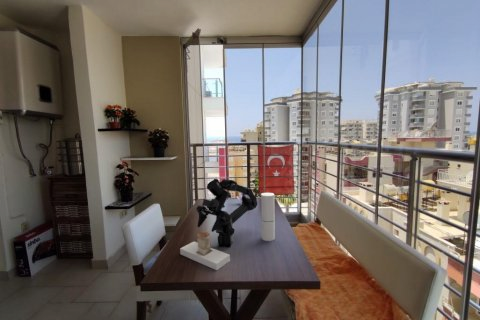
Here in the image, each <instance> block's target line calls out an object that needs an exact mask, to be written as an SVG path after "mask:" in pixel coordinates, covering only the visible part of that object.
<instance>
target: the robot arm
mask: <svg viewBox="0 0 480 320" xmlns="http://www.w3.org/2000/svg"><path fill="white" fill-rule="evenodd" d="M206 189H207V190H208V192H210V193H211V195H213V196H214V198H211V200H210V199H205V198H203V200H202V204H200V205H197V207H196V211H197V213H198V220H197V228H200V227H201V226H202V225H203V223H204V222H205V221H206V220H207V218H208V215H211V216H215V222H214V223H213V225H212V228H211V229H210V230H211V231H210V232H212V233H214V232H216V234H218V236H217V244H218V246H217V248H231V246H232V245H233V242H234V241H233V239H232V236H233V235H234V234H235V229H234V227H233V224H235V223H236V222H237V221H238V220H239V219H240V218H241V217H242V216H243V215H245V214H246V213H247V212H249V211H253V210H255V209H256V208H257V206H258V200H257V196H256V195H255V194H254V192H253V190H252V188H250V187H245V186H243V185H241V184H238V182H237V181H235V180H234V179H227V178H223V179H222V180H221V181H219V179H218V178H213V180H211V181H210V182H207V185H206ZM230 192H237V193H239V194H240V193H242V201H241V203H242V204H240V205H239V206H238V207H237V208H235V209H234V210H233V211H232V212H231V213H230V214H229V213H228V212H227V211H226V210H223V209H224V208H225V207H226V205H225V204H226V202H227V200H228V199H231V197H232V196H231V193H230ZM245 195H248V196H247V197H250V198H247V197H246V196H245Z"/></svg>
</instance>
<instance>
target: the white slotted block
mask: <svg viewBox="0 0 480 320" xmlns="http://www.w3.org/2000/svg"><path fill="white" fill-rule="evenodd" d="M179 249H180V250H179V253H180V255H181V256H183V257H186V258H188V259H190V260H192V261H195V262H196V263H197V262H198V263H199V264H202V265H204V266H205V267H209V268H211V269H212V270H215V271H218V270H220V269H221V268H222V267H224V266H226V264H228V263H230V261H231V255H230V254H229V253H226V252H224V251H221V250H218V249H216V248H212V247H210V253H208V254H207V255H205V256H203V255H200V254H198V241H191V242H190V243H188V244H186V245H184V246H182V247H181V248H179Z"/></svg>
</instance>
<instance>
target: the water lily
mask: <svg viewBox="0 0 480 320" xmlns="http://www.w3.org/2000/svg"><path fill="white" fill-rule="evenodd" d="M245 196H246V197H247V198H250V197H249V196H248V195H245ZM236 198H237V199H238V201H240V202H241V204H242V193H239V195H237V196H236ZM241 204H240V205H241Z"/></svg>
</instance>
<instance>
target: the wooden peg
mask: <svg viewBox="0 0 480 320" xmlns="http://www.w3.org/2000/svg"><path fill="white" fill-rule="evenodd" d="M196 237H197V243H198V254H200V255H203V256H205V255H207V254H208V253H210V248H211V243H210V242H211V240H210V232H207V231H205V230H203V231H200V232H198V233H197V235H196Z"/></svg>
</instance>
